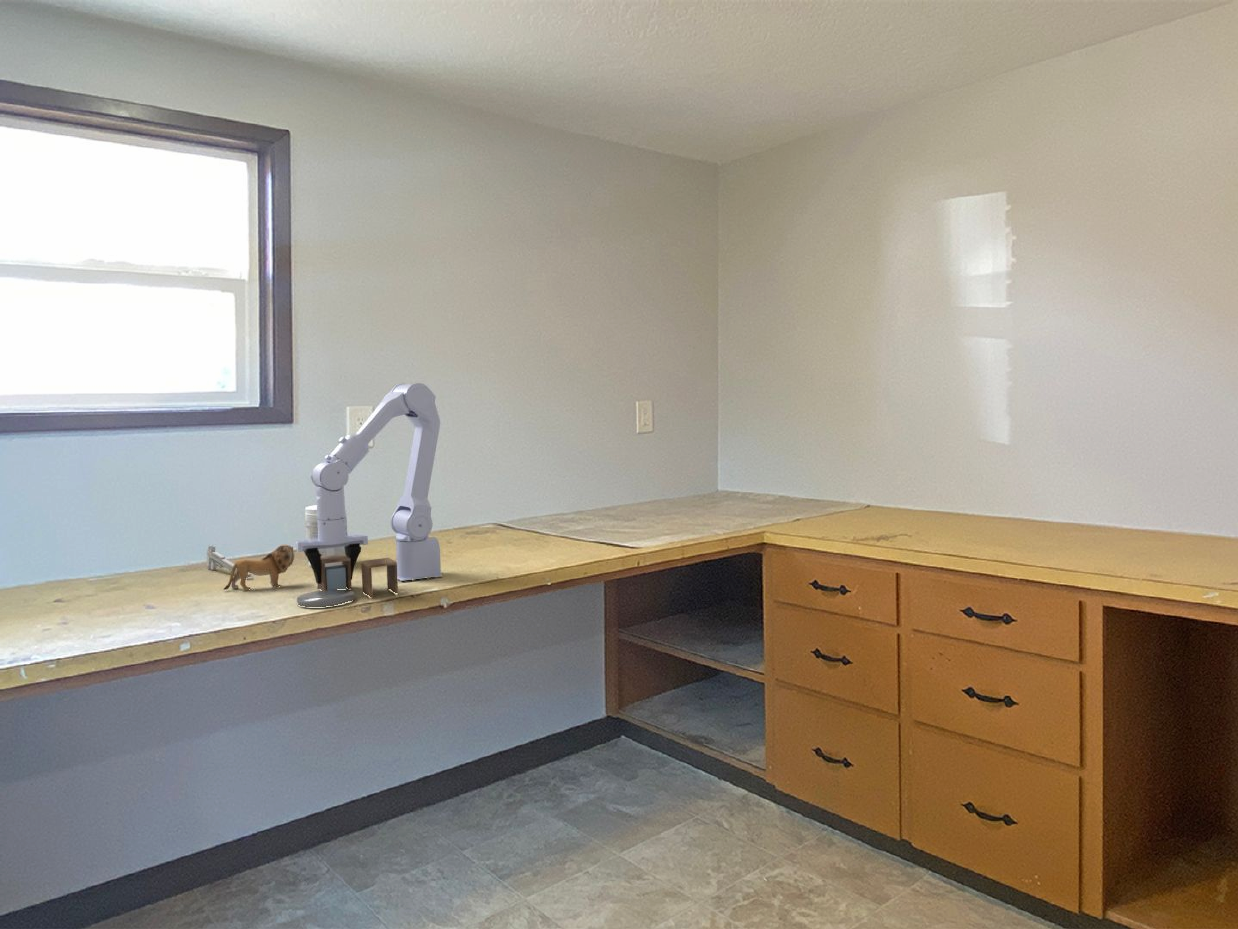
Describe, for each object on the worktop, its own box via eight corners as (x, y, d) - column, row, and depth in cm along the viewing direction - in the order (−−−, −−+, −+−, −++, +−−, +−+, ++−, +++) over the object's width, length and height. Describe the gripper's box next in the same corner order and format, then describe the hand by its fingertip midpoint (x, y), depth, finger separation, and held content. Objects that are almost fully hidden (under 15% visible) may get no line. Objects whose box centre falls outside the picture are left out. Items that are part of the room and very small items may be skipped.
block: (341, 587, 185) (340, 564, 185) (346, 590, 182) (345, 567, 182) (323, 589, 183) (321, 566, 183) (327, 593, 180) (326, 570, 179)
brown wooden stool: (389, 590, 182) (388, 557, 181) (398, 595, 177) (396, 562, 176) (362, 593, 179) (361, 561, 178) (370, 599, 174) (368, 565, 173)
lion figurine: (293, 581, 192) (291, 542, 191) (297, 585, 187) (295, 545, 186) (222, 589, 184) (220, 549, 184) (224, 594, 180) (222, 552, 179)
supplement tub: (344, 559, 216) (341, 502, 214) (353, 566, 207) (350, 506, 206) (304, 564, 211) (301, 505, 209) (311, 571, 202) (309, 510, 201)
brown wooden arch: (345, 585, 187) (343, 554, 186) (351, 590, 182) (350, 558, 181) (317, 589, 184) (316, 557, 183) (323, 594, 179) (322, 561, 178)
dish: (346, 592, 180) (346, 587, 179) (360, 603, 170) (360, 597, 170) (292, 600, 174) (292, 594, 174) (303, 611, 164) (303, 605, 164)
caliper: (207, 570, 206) (205, 545, 206) (211, 569, 207) (210, 544, 206) (249, 581, 193) (248, 554, 193) (254, 580, 194) (252, 553, 194)
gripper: (360, 513, 188) (363, 573, 190) (292, 519, 181) (295, 581, 182) (369, 517, 182) (372, 579, 184) (298, 523, 175) (301, 588, 176)
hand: (334, 581), depth 182 cm, fingers closed on brown wooden arch, 6 cm apart
